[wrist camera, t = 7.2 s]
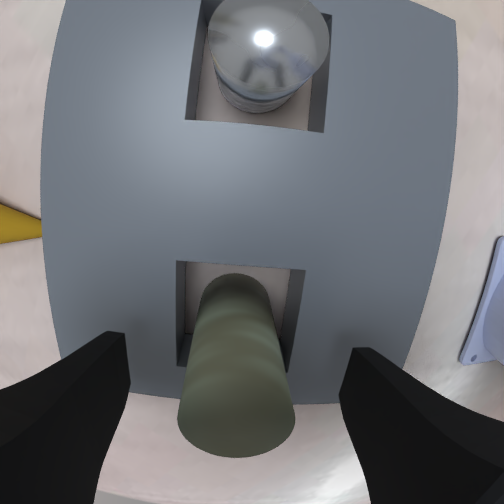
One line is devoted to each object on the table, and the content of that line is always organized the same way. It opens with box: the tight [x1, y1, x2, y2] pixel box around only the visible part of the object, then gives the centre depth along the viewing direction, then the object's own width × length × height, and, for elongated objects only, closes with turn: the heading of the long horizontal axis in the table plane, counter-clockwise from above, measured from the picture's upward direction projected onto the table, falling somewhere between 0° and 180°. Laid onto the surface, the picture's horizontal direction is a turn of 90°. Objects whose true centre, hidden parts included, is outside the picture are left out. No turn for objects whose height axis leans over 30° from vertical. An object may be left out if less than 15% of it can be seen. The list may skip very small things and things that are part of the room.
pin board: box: [40, 0, 458, 404], centre depth 11 cm, size 15×17×2 cm
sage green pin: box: [177, 273, 295, 458], centre depth 11 cm, size 3×3×7 cm
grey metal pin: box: [208, 0, 329, 113], centre depth 9 cm, size 3×3×5 cm
